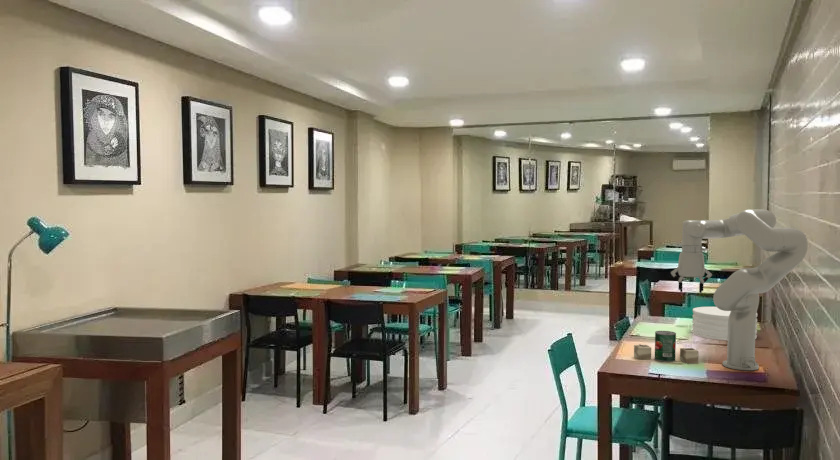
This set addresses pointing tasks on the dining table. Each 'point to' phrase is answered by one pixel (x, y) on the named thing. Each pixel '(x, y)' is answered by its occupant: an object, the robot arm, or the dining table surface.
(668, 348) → the canned tomato
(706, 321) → the plate stack
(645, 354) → the marked block two
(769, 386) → the dining table surface
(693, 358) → the marked block one
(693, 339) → the dining table surface
